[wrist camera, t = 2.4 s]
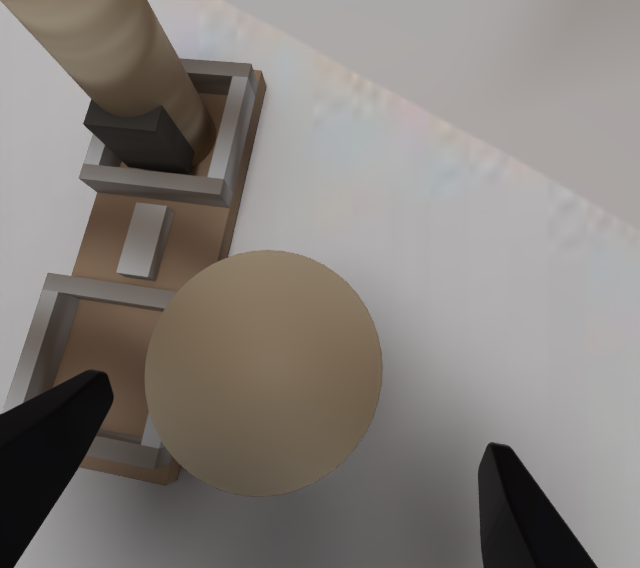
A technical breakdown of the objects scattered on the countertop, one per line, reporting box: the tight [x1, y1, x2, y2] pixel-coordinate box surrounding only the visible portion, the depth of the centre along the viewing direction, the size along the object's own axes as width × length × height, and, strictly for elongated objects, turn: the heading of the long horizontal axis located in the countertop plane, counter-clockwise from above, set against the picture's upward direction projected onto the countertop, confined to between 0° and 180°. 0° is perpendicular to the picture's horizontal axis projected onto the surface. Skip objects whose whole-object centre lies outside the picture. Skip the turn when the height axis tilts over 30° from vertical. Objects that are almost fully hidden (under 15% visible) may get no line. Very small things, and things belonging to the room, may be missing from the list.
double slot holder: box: [2, 59, 266, 485], centre depth 21 cm, size 21×7×3 cm, turn 171°
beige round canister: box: [144, 250, 382, 497], centre depth 13 cm, size 4×4×13 cm
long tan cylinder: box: [0, 0, 216, 174], centre depth 16 cm, size 4×4×13 cm
